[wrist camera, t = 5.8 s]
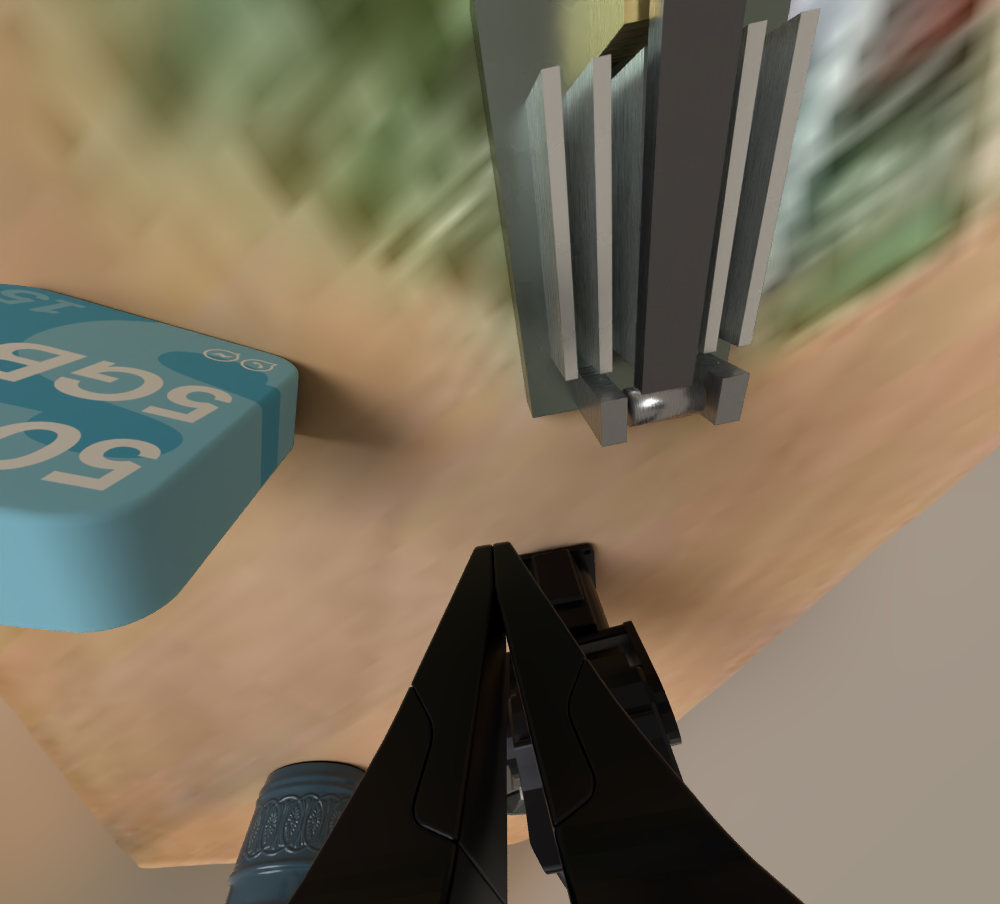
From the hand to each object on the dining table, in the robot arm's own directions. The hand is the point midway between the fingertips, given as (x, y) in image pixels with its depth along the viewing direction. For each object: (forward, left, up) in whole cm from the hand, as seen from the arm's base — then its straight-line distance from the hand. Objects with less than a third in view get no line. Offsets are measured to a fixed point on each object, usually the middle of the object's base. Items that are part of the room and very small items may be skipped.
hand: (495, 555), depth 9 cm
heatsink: (+5, -7, -13) cm, 15 cm away
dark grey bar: (+5, -7, -8) cm, 12 cm away
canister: (-50, +32, -13) cm, 60 cm away
